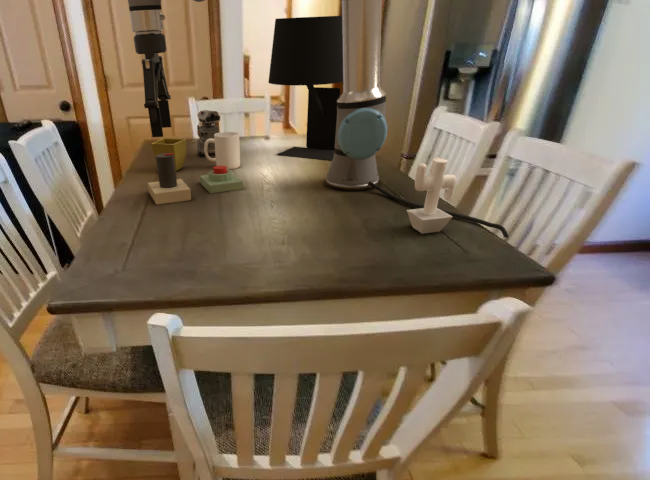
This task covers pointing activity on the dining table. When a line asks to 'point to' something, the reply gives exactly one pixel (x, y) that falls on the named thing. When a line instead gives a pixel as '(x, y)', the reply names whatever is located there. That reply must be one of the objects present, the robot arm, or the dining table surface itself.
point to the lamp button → (220, 169)
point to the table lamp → (311, 75)
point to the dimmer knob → (166, 170)
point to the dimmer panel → (169, 192)
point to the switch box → (221, 182)
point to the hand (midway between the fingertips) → (162, 132)
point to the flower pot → (171, 149)
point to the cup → (225, 149)
